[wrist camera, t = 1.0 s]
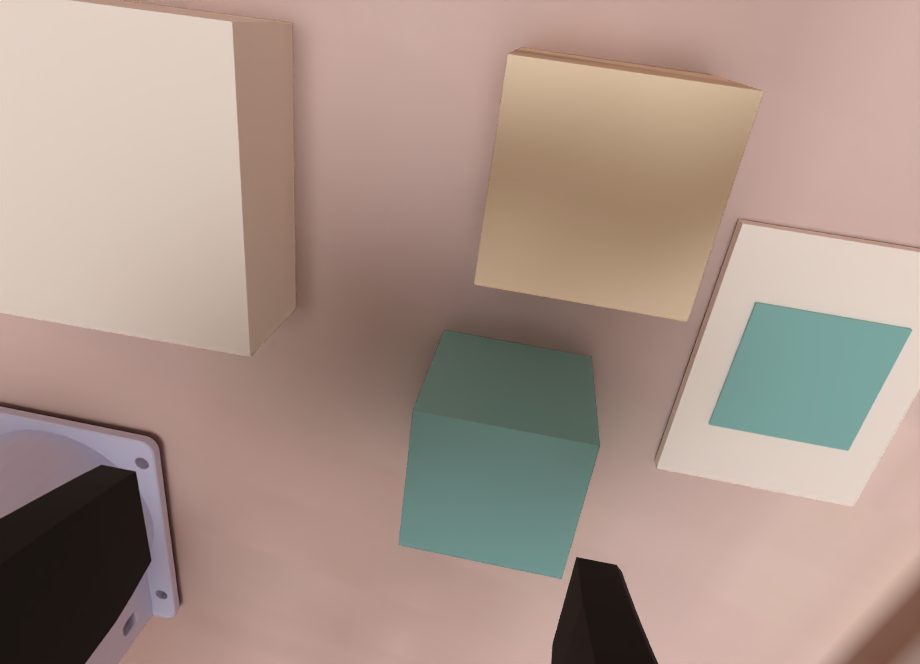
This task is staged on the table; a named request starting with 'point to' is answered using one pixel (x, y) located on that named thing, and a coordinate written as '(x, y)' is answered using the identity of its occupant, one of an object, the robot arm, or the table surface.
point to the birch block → (610, 180)
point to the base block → (147, 171)
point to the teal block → (500, 453)
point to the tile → (799, 364)
